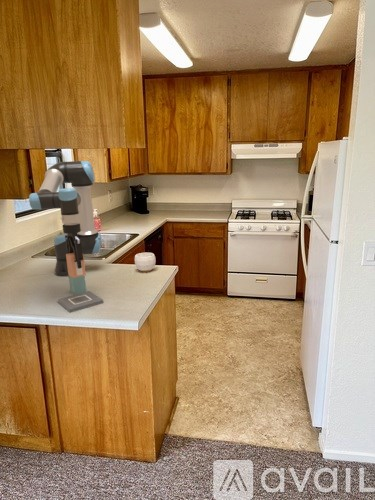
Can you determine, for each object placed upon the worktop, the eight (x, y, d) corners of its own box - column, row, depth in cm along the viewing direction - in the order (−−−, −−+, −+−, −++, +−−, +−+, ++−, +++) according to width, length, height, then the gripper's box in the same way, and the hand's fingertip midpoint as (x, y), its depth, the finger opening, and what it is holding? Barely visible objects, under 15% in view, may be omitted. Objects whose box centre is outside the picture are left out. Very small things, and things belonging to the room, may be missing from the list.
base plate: (57, 302, 169) (57, 299, 169) (89, 293, 179) (89, 290, 178) (69, 312, 157) (69, 309, 156) (103, 302, 166) (103, 299, 166)
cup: (156, 267, 219) (155, 251, 216) (155, 273, 207) (154, 257, 205) (136, 267, 219) (135, 252, 216) (134, 274, 207) (133, 258, 204)
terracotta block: (68, 274, 165) (65, 254, 162) (80, 272, 168) (78, 251, 166) (73, 277, 160) (70, 256, 158) (85, 275, 164) (83, 254, 161)
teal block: (70, 291, 183) (68, 272, 180) (81, 288, 186) (79, 270, 184) (75, 294, 178) (72, 275, 176) (86, 291, 182) (84, 272, 179)
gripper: (55, 222, 163) (61, 270, 169) (70, 227, 149) (76, 279, 154) (71, 220, 168) (77, 267, 173) (87, 225, 153) (93, 276, 159)
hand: (76, 273), depth 164 cm, fingers closed on terracotta block, 6 cm apart
